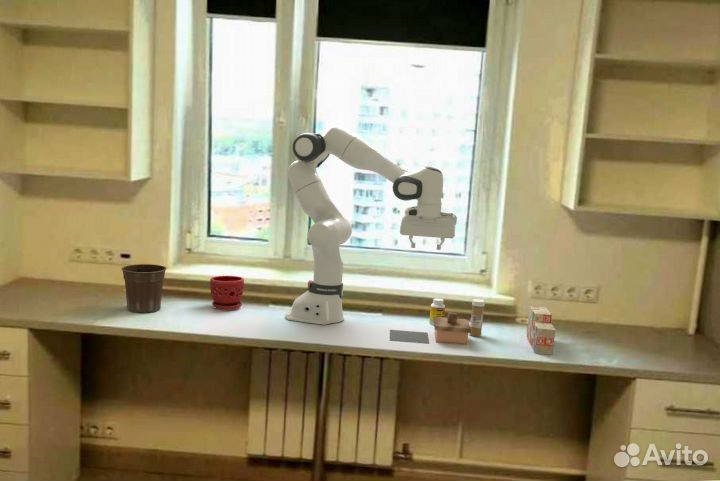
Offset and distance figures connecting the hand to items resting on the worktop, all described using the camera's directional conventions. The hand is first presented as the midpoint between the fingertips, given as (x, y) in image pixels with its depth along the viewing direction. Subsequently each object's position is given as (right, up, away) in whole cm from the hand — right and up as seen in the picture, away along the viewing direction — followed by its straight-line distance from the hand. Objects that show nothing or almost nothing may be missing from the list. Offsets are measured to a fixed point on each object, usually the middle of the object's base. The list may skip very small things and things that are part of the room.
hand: (425, 248), depth 261 cm
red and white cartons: (+41, -35, -5) cm, 54 cm away
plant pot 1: (-107, -23, +8) cm, 110 cm away
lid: (+9, -28, -6) cm, 30 cm away
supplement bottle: (+5, -30, +13) cm, 33 cm away
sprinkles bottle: (+19, -33, +3) cm, 38 cm away
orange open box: (+8, -33, -5) cm, 34 cm away
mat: (-7, -32, -6) cm, 33 cm away
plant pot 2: (-77, -24, +19) cm, 83 cm away
